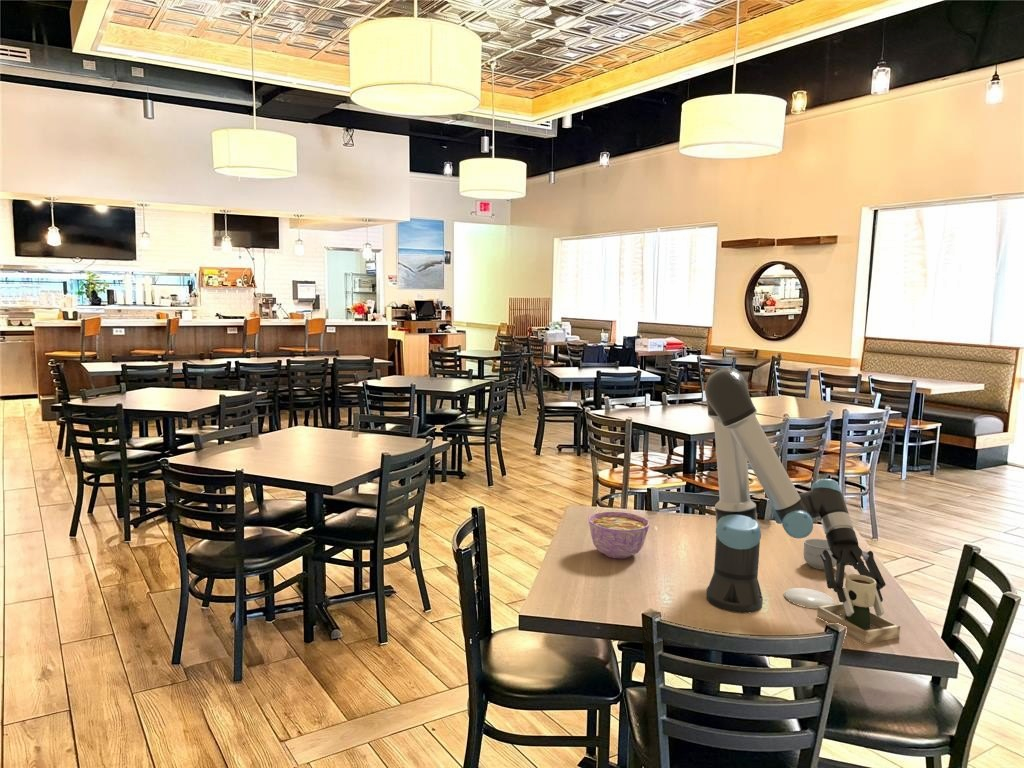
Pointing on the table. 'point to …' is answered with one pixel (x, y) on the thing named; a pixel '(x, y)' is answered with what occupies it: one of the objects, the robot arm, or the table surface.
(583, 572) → the table surface
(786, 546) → the table surface
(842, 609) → the wooden tray
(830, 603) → the white saucer
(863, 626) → the character mug
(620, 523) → the bowl of food
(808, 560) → the teacup
